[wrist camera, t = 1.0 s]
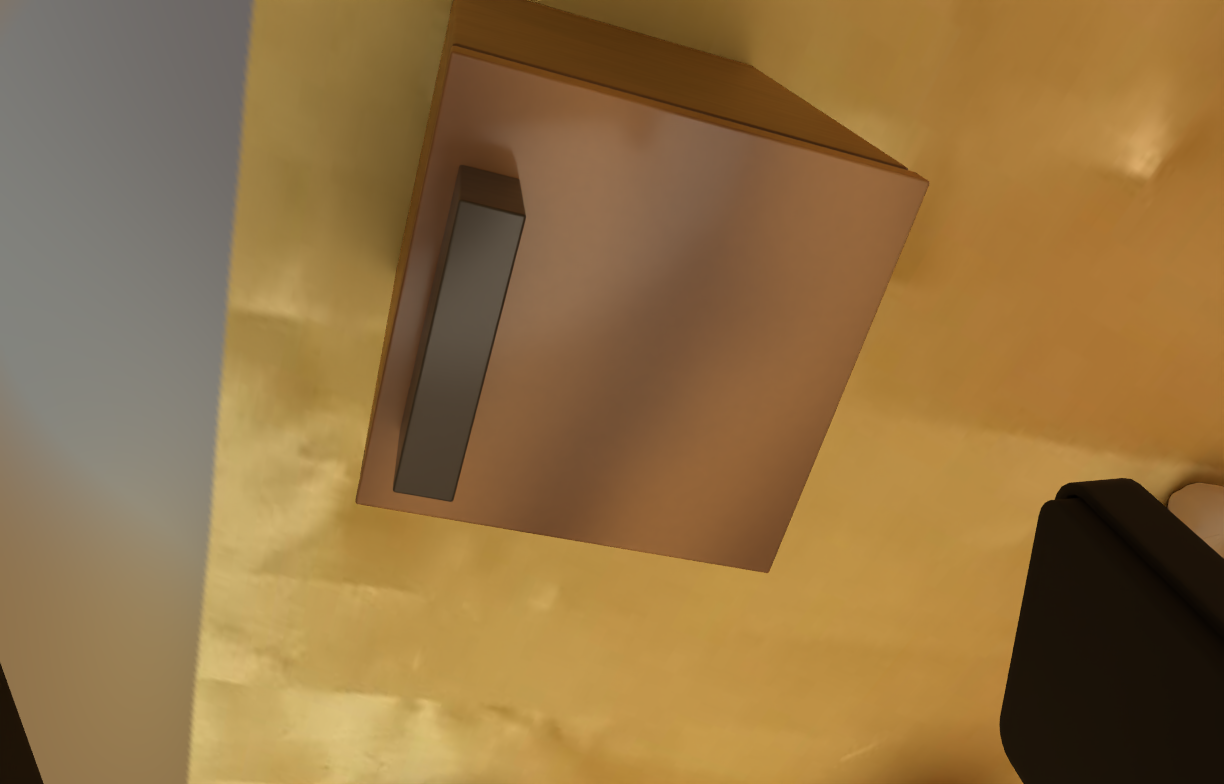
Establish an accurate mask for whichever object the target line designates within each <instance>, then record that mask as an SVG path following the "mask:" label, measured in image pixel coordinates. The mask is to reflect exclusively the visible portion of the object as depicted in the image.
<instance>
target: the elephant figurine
mask: <svg viewBox="0 0 1224 784" xmlns="http://www.w3.org/2000/svg"><path fill="white" fill-rule="evenodd" d="M1168 510H1170V511H1171V512H1172V513H1173V514H1174V515H1175V516H1176V517H1177V518H1179V519H1180V520H1181V521H1182V522H1183V523H1184V524H1185V525H1187V526H1188V527H1189V528H1190V529H1191V530H1192V531H1193V532H1194V533H1196V534H1197V535H1198V536H1199V537H1200V538H1201V539H1202V540H1203V541H1205V542H1206V543H1207V544H1208V545H1209V546H1210V547H1211V548H1212V549H1214V550H1215V551H1216V552H1217V553H1218V554H1219V555H1220V556H1221V557H1223V558H1224V486H1218V485H1211V484H1205V483H1194V484H1190V485H1187V486H1185V487H1184V488H1182V489H1181V490H1179V491H1177V492H1175V493H1173V494H1172V495H1171V497H1170V499H1169V503H1168Z"/></svg>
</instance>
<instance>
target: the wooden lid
mask: <svg viewBox="0 0 1224 784" xmlns="http://www.w3.org/2000/svg"><path fill="white" fill-rule="evenodd" d="M928 186H929V181H928V180H926V179H925V178H923V177H922V176H920V175H918V174H917V173H915V172H912V171H909V170H905V169H901V168H898V167H894V166H890V165H887V164H883V163H879V162H876V161H872V160H869V159H865V158H861V157H858V156H854V155H850V154H847V153H843V152H839V151H836V150H832V149H829V148H825V147H821V146H818V145H814V144H810V143H807V142H803V141H799V140H796V139H792V138H789V137H785V136H781V135H778V134H774V133H770V132H767V131H763V130H759V129H756V128H752V127H749V126H745V125H741V124H738V123H734V122H730V121H727V120H723V119H720V118H716V117H712V116H709V115H705V114H701V113H698V112H694V111H690V110H687V109H683V108H680V107H676V106H672V105H669V104H665V103H661V102H658V101H654V100H650V99H647V98H643V97H640V96H636V95H632V94H629V93H625V92H621V91H618V90H614V89H610V88H607V87H603V86H600V85H596V84H592V83H589V82H585V81H581V80H578V79H574V78H570V77H567V76H563V75H560V74H556V73H552V72H549V71H545V70H541V69H538V68H534V67H530V66H527V65H523V64H520V63H516V62H512V61H509V60H505V59H501V58H498V57H494V56H491V55H487V54H483V53H480V52H476V51H472V50H469V49H465V48H461V47H458V46H452V47H451V50H450V55H449V59H448V64H447V69H446V74H445V78H444V83H443V88H442V92H441V97H440V102H439V107H438V111H437V116H436V121H435V125H434V130H433V135H432V140H431V144H430V149H429V154H428V158H427V163H426V168H425V173H424V177H423V182H422V187H421V191H420V196H419V201H418V206H417V210H416V215H415V220H414V224H413V229H412V234H411V239H410V243H409V248H408V253H407V257H406V262H405V267H404V272H403V276H402V281H401V286H400V290H399V295H398V300H397V305H396V309H395V314H394V319H393V323H392V328H391V333H390V338H389V342H388V347H387V352H386V357H385V361H384V366H383V371H382V375H381V380H380V385H379V390H378V394H377V399H376V404H375V408H374V413H373V418H372V423H371V427H370V432H369V437H368V441H367V446H366V451H365V456H364V460H363V465H362V470H361V474H360V479H359V484H358V489H357V495H356V503H357V504H361V505H367V506H373V507H379V508H385V509H391V510H397V511H403V512H408V513H414V514H420V515H426V516H432V517H438V518H444V519H450V520H456V521H462V522H468V523H474V524H480V525H486V526H492V527H497V528H503V529H509V530H515V531H521V532H527V533H533V534H539V535H545V536H551V537H557V538H563V539H569V540H575V541H580V542H586V543H592V544H598V545H604V546H610V547H616V548H622V549H628V550H634V551H640V552H646V553H652V554H658V555H664V556H669V557H675V558H681V559H687V560H693V561H699V562H705V563H711V564H717V565H723V566H729V567H735V568H741V569H747V570H752V571H758V572H764V573H768V572H769V571H770V568H771V566H772V563H773V561H774V559H775V556H776V554H777V551H778V549H779V546H780V544H781V542H782V539H783V537H784V534H785V532H786V530H787V527H788V525H789V522H790V520H791V517H792V515H793V513H794V510H795V508H796V505H797V503H798V501H799V498H800V496H801V493H802V491H803V488H804V486H805V484H806V481H807V479H808V476H809V474H810V472H811V469H812V467H813V464H814V462H815V459H816V457H817V455H818V452H819V450H820V447H821V445H822V442H823V440H824V438H825V435H826V433H827V430H828V428H829V426H830V423H831V421H832V418H833V416H834V413H835V411H836V409H837V406H838V404H839V401H840V399H841V397H842V394H843V392H844V389H845V387H846V384H847V382H848V380H849V377H850V375H851V372H852V370H853V368H854V365H855V363H856V360H857V358H858V355H859V353H860V351H861V348H862V346H863V343H864V341H865V339H866V336H867V334H868V331H869V329H870V326H871V324H872V322H873V319H874V317H875V314H876V312H877V310H878V307H879V305H880V302H881V300H882V297H883V295H884V293H885V290H886V288H887V285H888V283H889V281H890V278H891V276H892V273H893V271H894V268H895V266H896V264H897V261H898V259H899V256H900V254H901V252H902V249H903V247H904V244H905V242H906V239H907V237H908V235H909V232H910V230H911V227H912V225H913V223H914V220H915V218H916V215H917V213H918V210H919V208H920V206H921V203H922V201H923V198H924V196H925V194H926V191H927V189H928Z"/></svg>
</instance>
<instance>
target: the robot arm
mask: <svg viewBox="0 0 1224 784" xmlns="http://www.w3.org/2000/svg"><path fill="white" fill-rule="evenodd" d="M1000 735H1001V740H1002V744H1003V747H1004V750H1005V753H1006V755H1007V757H1008V759H1009V761H1010V763H1011V764H1012V766H1013V767H1014V769H1015V771H1016V772H1017V774H1018V775H1019V777H1020V779H1021V780H1022V782H1023V783H1024V784H1224V558H1223V557H1221V556H1220V555H1219V554H1218V553H1217V552H1216V551H1215V550H1214V549H1212V548H1211V547H1210V546H1209V545H1208V544H1207V543H1206V542H1205V541H1203V540H1202V539H1201V538H1200V537H1199V536H1198V535H1197V534H1196V533H1194V532H1193V531H1192V530H1191V529H1190V528H1189V527H1188V526H1187V525H1185V524H1184V523H1183V522H1182V521H1181V520H1180V519H1179V518H1177V517H1176V516H1175V515H1174V514H1173V513H1172V512H1171V511H1170V510H1168V509H1167V508H1166V507H1165V506H1164V505H1163V504H1162V503H1161V502H1159V501H1158V500H1157V499H1156V498H1155V497H1154V496H1153V495H1152V494H1150V493H1149V492H1148V491H1147V490H1146V489H1145V488H1144V487H1142V486H1141V485H1140V484H1139V483H1137V482H1135V481H1134V480H1132V479H1126V478H1119V479H1108V480H1096V481H1085V482H1074V483H1068V484H1066V485H1064V486H1062V487H1061V489H1060V490H1059V491H1058V493H1057V495H1056V498H1055V500H1050V501H1048V502H1046V503H1045V504H1044V505H1043V506H1042V508H1041V511H1040V514H1039V517H1038V522H1037V528H1036V533H1035V538H1034V543H1033V549H1032V554H1031V559H1030V564H1029V569H1028V575H1027V580H1026V585H1025V590H1024V595H1023V601H1022V606H1021V611H1020V616H1019V621H1018V627H1017V632H1016V637H1015V642H1014V647H1013V653H1012V658H1011V663H1010V668H1009V673H1008V679H1007V684H1006V689H1005V694H1004V700H1003V705H1002V710H1001V715H1000ZM0 784H43V781H42V778H41V775H40V772H39V770H38V767H37V764H36V762H35V758H34V756H33V753H32V751H31V747H30V745H29V742H28V739H27V736H26V733H25V731H24V728H23V725H22V722H21V719H20V717H19V714H18V711H17V708H16V706H15V703H14V700H13V697H12V695H11V692H10V689H9V686H8V683H7V680H6V678H5V675H4V672H3V669H2V666H1V664H0Z"/></svg>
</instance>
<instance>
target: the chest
mask: <svg viewBox="0 0 1224 784" xmlns="http://www.w3.org/2000/svg"><path fill="white" fill-rule="evenodd" d="M452 46H458V47H461V48H465V49H469V50H472V51H476V52H480V53H483V54H487V55H491V56H494V57H498V58H501V59H505V60H509V61H512V62H516V63H520V64H523V65H527V66H530V67H534V68H538V69H541V70H545V71H549V72H552V73H556V74H560V75H563V76H567V77H570V78H574V79H578V80H581V81H585V82H589V83H592V84H596V85H600V86H603V87H607V88H610V89H614V90H618V91H621V92H625V93H629V94H632V95H636V96H640V97H643V98H647V99H650V100H654V101H658V102H661V103H665V104H669V105H672V106H676V107H680V108H683V109H687V110H690V111H694V112H698V113H701V114H705V115H709V116H712V117H716V118H720V119H723V120H727V121H730V122H734V123H738V124H741V125H745V126H749V127H752V128H756V129H759V130H763V131H767V132H770V133H774V134H778V135H781V136H785V137H789V138H792V139H796V140H799V141H803V142H807V143H810V144H814V145H818V146H821V147H825V148H829V149H832V150H836V151H839V152H843V153H847V154H850V155H854V156H858V157H861V158H865V159H869V160H872V161H876V162H879V163H883V164H887V165H890V166H894V167H898V168H901V169H905V170H908V168H906V167H905V166H904V165H902V164H901V163H899V162H898V161H896V160H895V159H893V158H892V157H890V156H888V155H887V154H885V153H884V152H882V151H881V150H879V149H878V148H876V147H875V146H873V145H872V144H870V143H869V142H867V141H866V140H864V139H863V138H861V137H860V136H858V135H856V134H855V133H853V132H852V131H850V130H849V129H847V128H846V127H844V126H843V125H841V124H840V123H838V122H837V121H835V120H834V119H832V118H831V117H829V116H828V115H826V114H824V113H823V112H821V111H820V110H818V109H817V108H815V107H814V106H812V105H811V104H809V103H808V102H806V101H805V100H803V99H802V98H800V97H799V96H797V95H795V94H794V93H792V92H791V91H789V90H788V89H786V88H785V87H783V86H782V85H780V84H779V83H777V82H776V81H774V80H773V79H771V78H770V77H768V76H767V75H765V74H763V73H762V72H760V71H759V70H757V69H756V68H754V67H753V66H751V65H748V64H744V63H741V62H737V61H734V60H731V59H727V58H724V57H720V56H717V55H713V54H710V53H706V52H703V51H699V50H696V49H693V48H689V47H686V46H682V45H679V44H675V43H672V42H668V41H665V40H662V39H658V38H655V37H651V36H648V35H644V34H641V33H637V32H634V31H630V30H627V29H624V28H620V27H617V26H613V25H610V24H606V23H603V22H599V21H596V20H593V19H589V18H586V17H582V16H579V15H575V14H572V13H568V12H565V11H562V10H558V9H555V8H551V7H548V6H544V5H541V4H537V3H534V2H530V1H527V0H453V2H452V7H451V12H450V17H449V21H448V26H447V31H446V36H445V41H444V45H443V50H442V55H441V60H440V64H439V69H438V74H437V79H436V84H435V88H434V93H433V98H432V103H431V108H430V112H429V117H428V122H427V127H426V131H425V136H424V141H423V146H422V151H421V155H420V160H419V165H418V170H417V174H416V179H415V184H414V189H413V194H412V198H411V203H410V208H409V213H408V218H407V222H406V227H405V232H404V237H403V241H402V246H401V251H400V256H399V261H398V265H397V270H396V275H395V281H394V286H393V292H392V298H391V303H390V309H389V315H388V320H387V326H386V331H385V337H384V343H383V348H382V354H381V360H380V365H379V371H378V377H377V382H376V388H375V394H374V399H373V405H372V410H371V416H370V422H369V427H368V433H367V439H366V444H365V450H364V456H365V451H366V446H367V441H368V437H369V432H370V427H371V423H372V418H373V413H374V408H375V404H376V399H377V394H378V390H379V385H380V380H381V375H382V371H383V366H384V361H385V357H386V352H387V347H388V342H389V338H390V333H391V328H392V323H393V319H394V314H395V309H396V305H397V300H398V295H399V290H400V286H401V281H402V276H403V272H404V267H405V262H406V257H407V253H408V248H409V243H410V239H411V234H412V229H413V224H414V220H415V215H416V210H417V206H418V201H419V196H420V191H421V187H422V182H423V177H424V173H425V168H426V163H427V158H428V154H429V149H430V144H431V140H432V135H433V130H434V125H435V121H436V116H437V111H438V107H439V102H440V97H441V92H442V88H443V83H444V78H445V74H446V69H447V64H448V59H449V55H450V50H451V47H452ZM364 456H363V460H364ZM362 465H363V461H362ZM361 470H362V467H361ZM360 474H361V473H360Z"/></svg>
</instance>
